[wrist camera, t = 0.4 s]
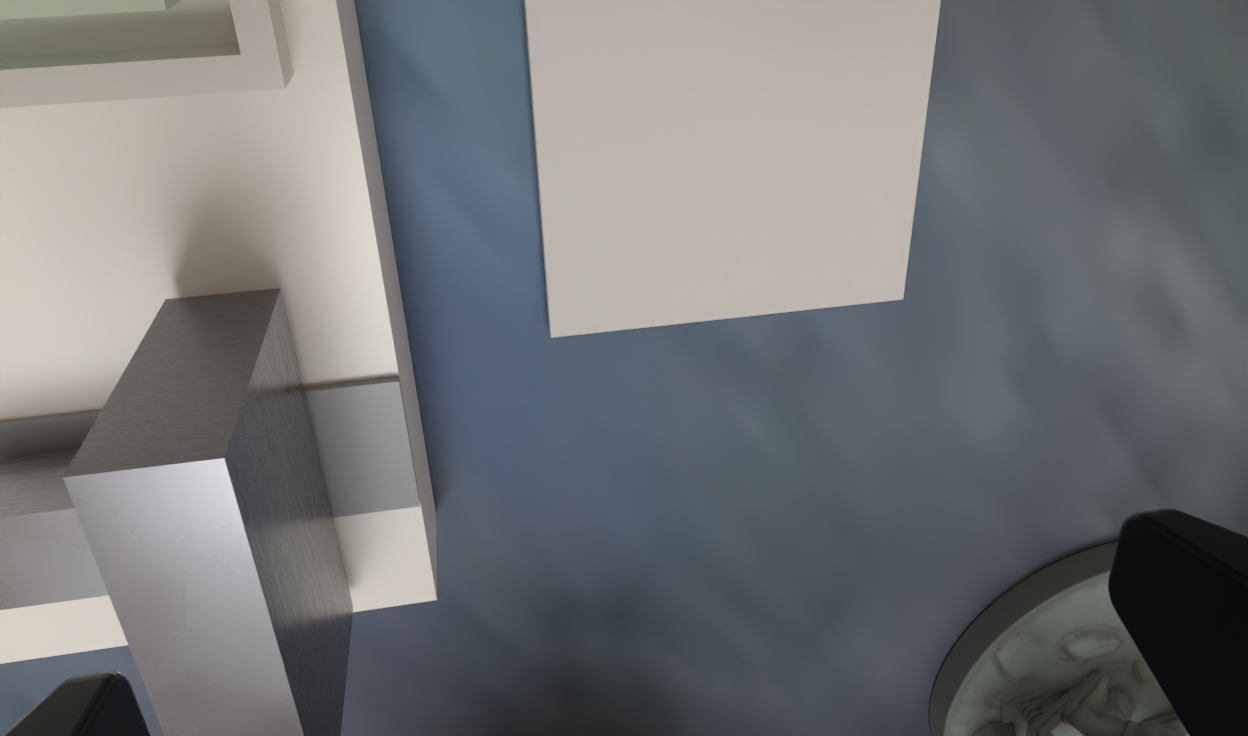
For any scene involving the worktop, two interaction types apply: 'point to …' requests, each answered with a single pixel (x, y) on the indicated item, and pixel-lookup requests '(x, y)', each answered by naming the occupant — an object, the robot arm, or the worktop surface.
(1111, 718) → the figurine
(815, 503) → the worktop surface
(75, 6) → the cover
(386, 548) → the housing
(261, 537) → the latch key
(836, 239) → the pad
